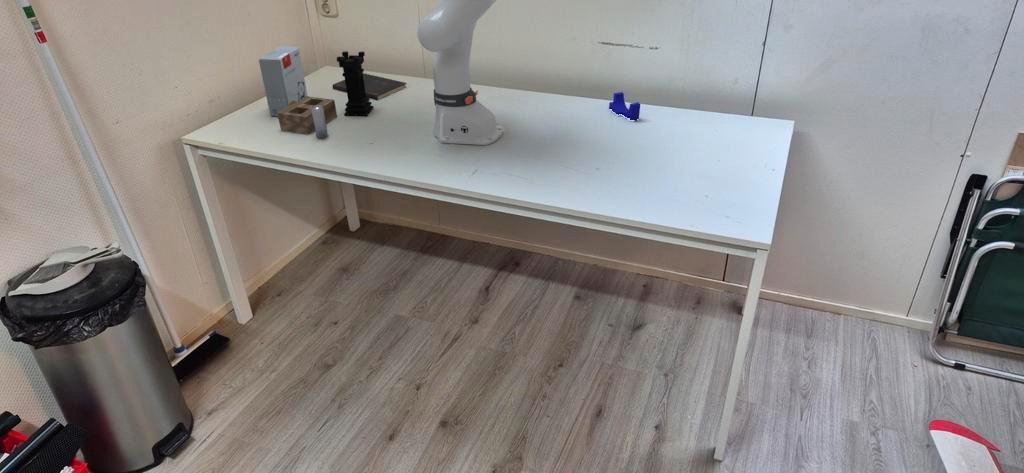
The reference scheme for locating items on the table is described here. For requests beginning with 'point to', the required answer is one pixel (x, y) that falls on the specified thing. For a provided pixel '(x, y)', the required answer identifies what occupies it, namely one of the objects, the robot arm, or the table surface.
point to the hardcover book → (375, 86)
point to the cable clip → (624, 107)
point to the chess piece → (355, 85)
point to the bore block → (305, 114)
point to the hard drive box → (282, 78)
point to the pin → (319, 121)
